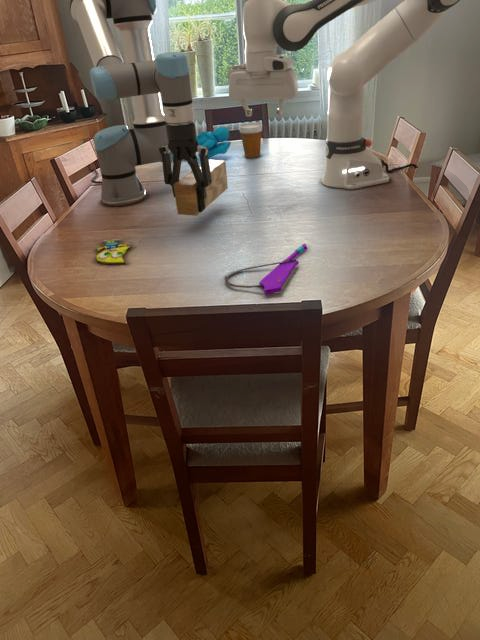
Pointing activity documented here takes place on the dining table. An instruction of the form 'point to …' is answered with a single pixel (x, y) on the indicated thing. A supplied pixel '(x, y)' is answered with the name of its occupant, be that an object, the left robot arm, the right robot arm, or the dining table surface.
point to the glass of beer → (251, 139)
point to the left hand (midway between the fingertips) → (191, 209)
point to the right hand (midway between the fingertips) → (263, 115)
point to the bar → (188, 186)
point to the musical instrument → (275, 273)
